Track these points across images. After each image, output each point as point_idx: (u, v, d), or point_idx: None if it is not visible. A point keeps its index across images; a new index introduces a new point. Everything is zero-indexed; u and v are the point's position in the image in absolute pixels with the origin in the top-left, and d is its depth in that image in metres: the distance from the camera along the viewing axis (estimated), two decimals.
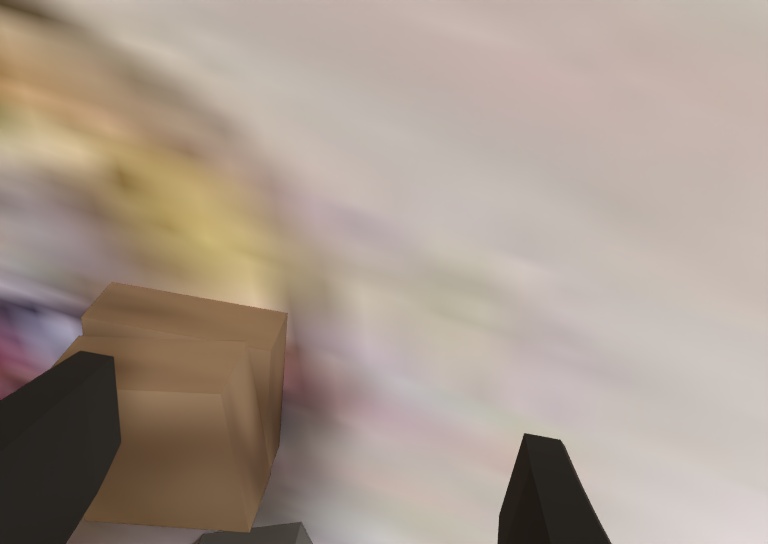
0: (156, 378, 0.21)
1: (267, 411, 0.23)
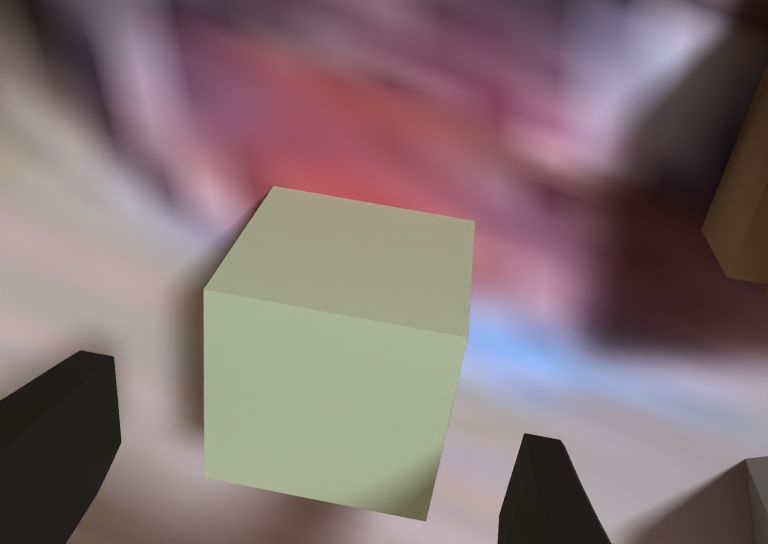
0: None
1: None
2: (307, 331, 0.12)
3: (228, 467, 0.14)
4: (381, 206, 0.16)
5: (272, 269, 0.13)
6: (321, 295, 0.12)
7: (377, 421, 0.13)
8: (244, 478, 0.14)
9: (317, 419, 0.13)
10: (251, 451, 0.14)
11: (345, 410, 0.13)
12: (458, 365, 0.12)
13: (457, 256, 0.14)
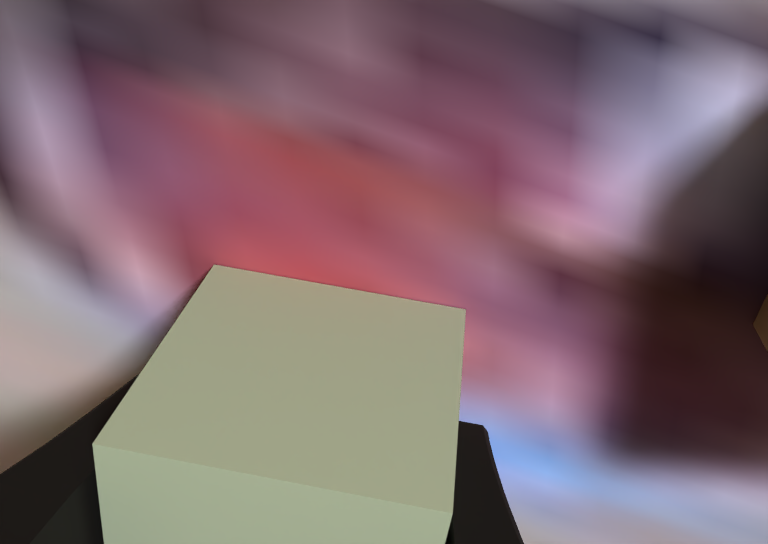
0: None
1: None
2: (236, 497, 0.09)
3: None
4: (347, 293, 0.12)
5: (193, 404, 0.10)
6: (256, 447, 0.09)
7: None
8: None
9: None
10: None
11: None
12: None
13: (441, 370, 0.11)
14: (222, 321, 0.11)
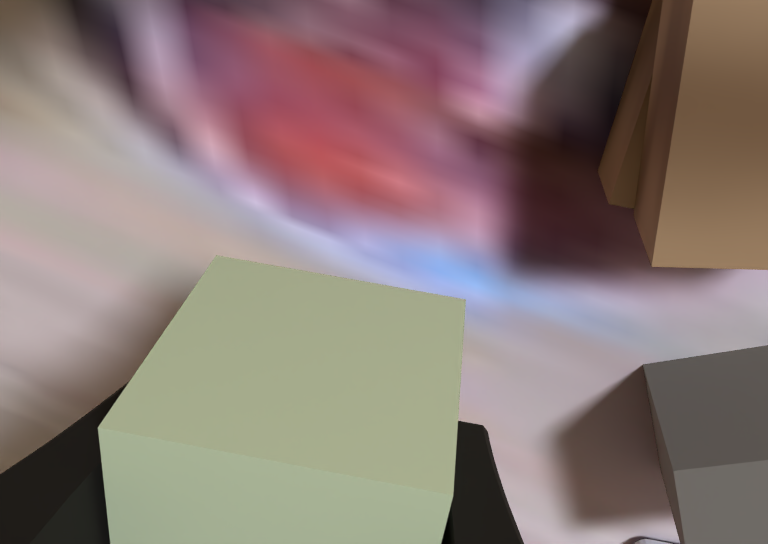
0: None
1: None
2: (239, 480, 0.09)
3: None
4: (348, 283, 0.13)
5: (196, 390, 0.10)
6: (259, 430, 0.09)
7: None
8: None
9: None
10: None
11: None
12: (441, 527, 0.09)
13: (442, 357, 0.11)
14: (225, 310, 0.11)
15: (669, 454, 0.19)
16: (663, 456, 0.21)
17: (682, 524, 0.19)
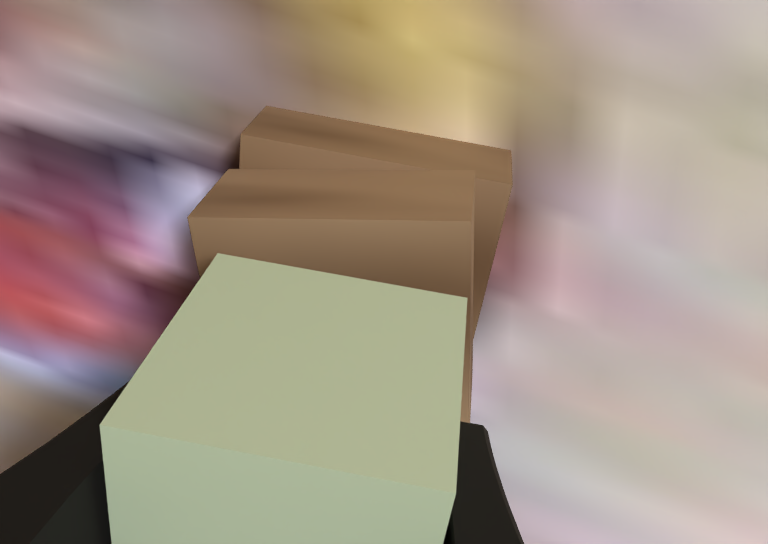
0: (364, 207, 0.14)
1: (487, 281, 0.17)
2: (241, 478, 0.09)
3: None
4: (350, 281, 0.13)
5: (198, 387, 0.10)
6: (261, 428, 0.09)
7: None
8: None
9: None
10: None
11: None
12: (443, 525, 0.09)
13: (444, 356, 0.11)
14: (226, 307, 0.11)
15: None
16: None
17: None
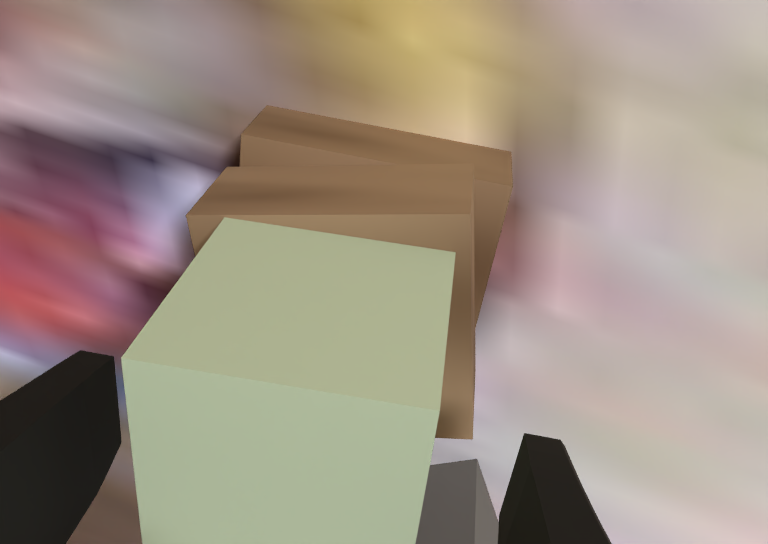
0: (362, 201, 0.14)
1: (486, 282, 0.17)
2: (248, 404, 0.10)
3: None
4: (347, 240, 0.14)
5: (208, 328, 0.11)
6: (265, 360, 0.10)
7: (338, 504, 0.11)
8: None
9: (268, 502, 0.11)
10: (195, 536, 0.12)
11: (299, 492, 0.11)
12: (430, 442, 0.10)
13: (432, 301, 0.12)
14: (233, 262, 0.13)
15: None
16: None
17: None
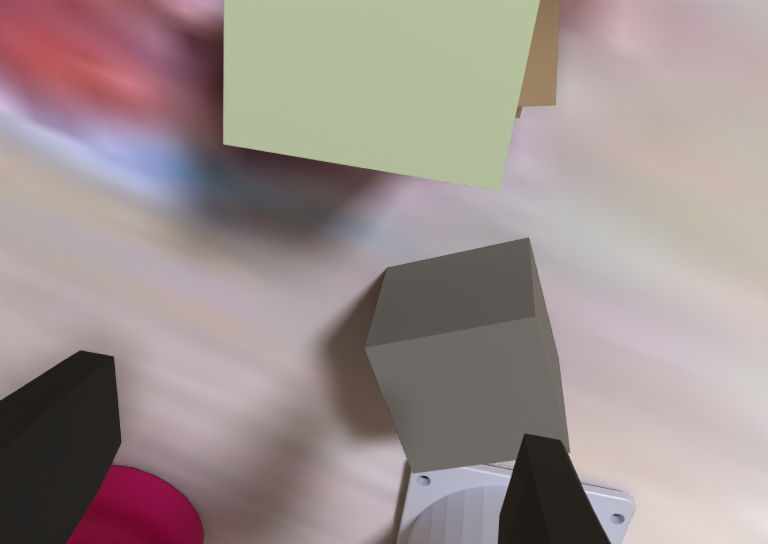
0: None
1: None
2: None
3: (253, 124, 0.11)
4: None
5: None
6: None
7: (444, 25, 0.10)
8: (273, 140, 0.12)
9: (366, 31, 0.10)
10: (282, 93, 0.11)
11: (402, 11, 0.10)
12: None
13: None
14: None
15: (368, 335, 0.19)
16: None
17: (388, 407, 0.20)
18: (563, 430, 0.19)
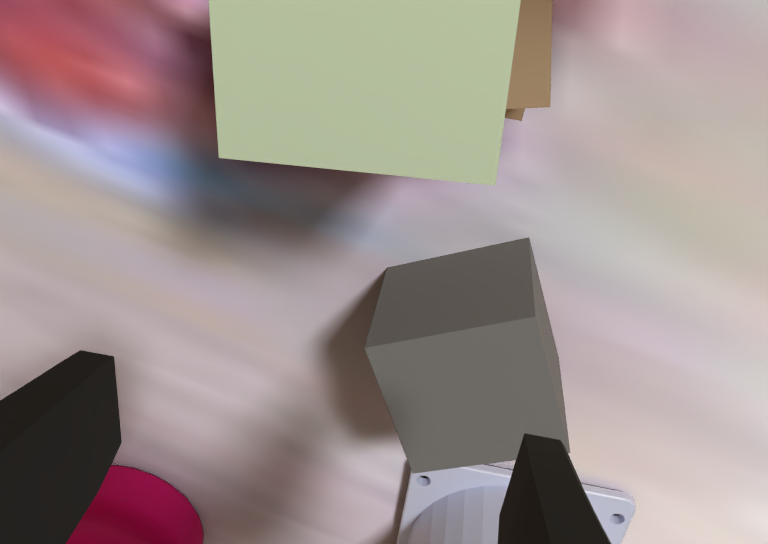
0: None
1: None
2: None
3: (247, 136, 0.12)
4: None
5: None
6: None
7: (428, 25, 0.10)
8: (267, 151, 0.12)
9: (351, 36, 0.11)
10: (273, 103, 0.11)
11: (386, 13, 0.10)
12: None
13: None
14: None
15: (368, 335, 0.19)
16: None
17: (388, 407, 0.20)
18: (563, 430, 0.19)
